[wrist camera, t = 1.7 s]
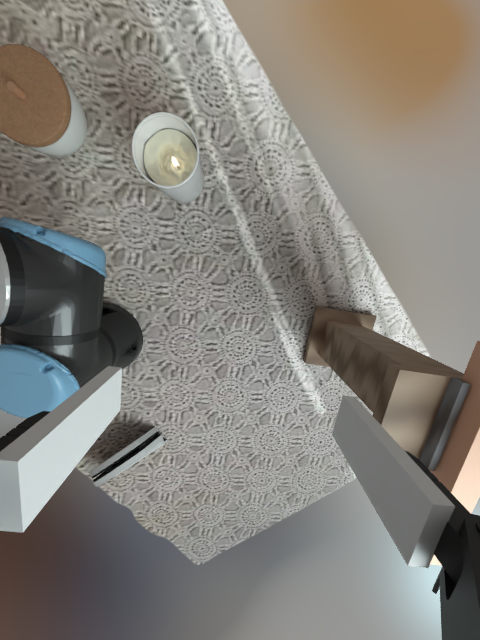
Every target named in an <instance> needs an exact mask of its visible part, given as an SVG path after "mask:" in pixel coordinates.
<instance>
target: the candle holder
mask: <svg viewBox="0 0 480 640" xmlns="http://www.w3.org/2000/svg"><path fill="white" fill-rule="evenodd" d="M132 156H133V160H134V163H135V165H136V167H137V169H138V171H139V172H140V174H141V175H142V176H143V177H144V178H145V179H146V180H147V181H148V182H150V183H151V184H153V185H154V186H156V187H157V188H158V189H159V190H161V191H162V192H163V193H165V194H166V195H167V196H169V197H170V198H171V199H173V200H175V201H177V202H181V203H187V202H191V201H193V200H195V199H196V198H197V197H198V196H199V195H200V193H201V192H202V189H203V186H204V174H203V168H202V163H201V158H200V153H199V145H198V141H197V138H196V136H195V134H194V132H193V130H192V129H191V127H190V126H189V125H188V124H187V123H186V122H185V121H184V120H183V119H182V118H180V117H179V116H177V115H175V114H172V113H168V112H157V113H153V114H151V115H149V116H147V117H146V118H144V119H143V120H142V121H141V122H140V123H139V125H138V126H137V128H136V130H135V132H134V135H133V138H132Z"/></svg>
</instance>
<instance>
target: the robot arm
mask: <svg viewBox="0 0 480 640" xmlns="http://www.w3.org/2000/svg"><path fill="white" fill-rule="evenodd" d="M105 266H106V256H105V253H104V251H103V250H102V248H101V247H99V246H98V245H96V244H94V243H91V242H89V241H86V240H83V239H80V238H77V237H74V236H71V235H67V234H64V233H61V232H58V231H54V230H51V229H47V228H43V227H41V226H37V225H34V224H31V223H28V222H24V221H20V220H17V219H13V218H8V217H2V218H1V219H0V327H1V345H0V409H1V410H3V411H5V412H7V413H9V414H12V415H15V416H18V417H23V418H27V419H26V420H24V421H23V422H22V423H21V424H19V425H18V426H17V427H16V428H14V429H12V430H11V431H9V432H8V433H7V434H6V436H3V437H1V438H0V531H12V532H24V531H25V529H26V528H27V527H28V525H29V524H30V523H31V522H32V520H33V519H34V518H35V517H36V516H37V514H38V513H39V512H40V510H41V509H42V508H43V507H44V505H45V504H46V503H47V501H48V500H49V499H50V498H51V497H52V495H53V494H54V493H55V492H56V490H57V489H58V488H59V486H60V485H61V484H62V483H63V482H64V480H65V479H66V478H67V477H68V475H69V474H70V473H71V471H72V470H73V469H74V468H75V466H76V465H77V464H78V463H79V461H80V460H81V459H82V458H83V456H84V455H85V454H86V453H87V451H88V450H89V449H90V448H91V446H92V445H93V444H94V443H95V441H96V440H97V439H98V437H99V436H100V435H101V434H102V432H103V431H104V430H105V429H106V427H107V426H108V425H109V424H110V422H111V421H112V420H113V419H114V417H115V416H116V415H117V414H118V412H119V411H120V405H121V379H122V369H123V368H125V367H127V366H128V365H130V364H131V363H132V362H133V361H134V360H135V359H136V358H137V357H138V355H139V353H140V351H141V349H142V344H143V335H142V331H141V328H140V326H139V324H138V322H137V321H136V319H135V318H134V317H133V316H132V315H131V314H130V313H129V312H128V311H126V310H125V309H123V308H121V307H119V306H116V305H112V304H103V294H104V281H105V278H106V277H107V275H106V273H105ZM332 435H333V437H334V439H335V440H336V442H337V444H338V445H339V447H340V449H341V451H342V452H343V454H344V456H345V458H346V459H347V461H348V463H349V465H350V466H351V468H352V470H353V472H354V473H355V475H356V477H357V478H358V480H359V482H360V484H361V485H362V487H363V489H364V491H365V492H366V494H367V496H368V498H369V499H370V501H371V503H372V504H373V506H374V508H375V510H376V511H377V513H378V515H379V517H380V518H381V520H382V522H383V524H384V525H385V527H386V529H387V530H388V532H389V534H390V536H391V538H392V539H393V541H394V543H395V544H396V546H397V548H398V549H399V551H400V553H401V555H402V556H403V558H404V560H405V562H406V563H407V565H408V566H416V567H426V568H428V567H429V565H430V563H431V560H432V558H433V556H434V555H435V556H436V558H437V559H438V561H439V562H440V563H441V565H442V566H443V567H442V569H441V571H440V573H439V575H438V578H437V580H436V582H435V584H434V587H433V590H432V591H433V592H434V593H435V594H436V593H437V591H438V589H440V601H441V624H442V625H441V626H442V640H480V516H478V515H474V514H471V513H470V512H469V511H468V510H467V509H466V508H465V507H464V506H463V505H462V504H461V503H460V502H459V501H458V500H457V499H456V498H455V496H454V495H453V494H452V493H451V492H450V491H449V490H448V489H447V488H446V487H445V486H444V485H443V484H442V483H441V482H439V480H438V479H437V478H436V476H435V475H434V474H433V473H431V472H430V470H429V469H428V468H427V467H426V466H425V465H424V464H423V463H422V462H421V461H420V460H419V459H417V458H416V457H415V456H413V455H412V454H411V453H409V452H408V451H404V450H403V449H402V448H401V447H400V445H399V444H398V443H397V442H396V441H395V440H394V439H393V438H392V437H391V436H390V435H389V433H388V432H387V431H386V430H385V429H384V428H383V427H382V426H381V425H380V424H379V423H378V421H377V420H376V419H375V418H374V417H373V416H372V415H371V414H370V413H369V412H368V411H367V409H366V408H365V407H364V406H363V405H362V404H361V403H360V402H359V401H358V400H357V399H356V397H351V396H343V397H342V401H341V404H340V408H339V412H338V415H337V419H336V423H335V426H334V430H333V434H332Z"/></svg>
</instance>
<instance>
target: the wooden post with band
mask: <svg viewBox="0 0 480 640" xmlns="http://www.w3.org/2000/svg"><path fill="white" fill-rule="evenodd" d="M375 320H376V316H374V315H369V314H363V313H357V312H350V311H344V310H338V309H331V308H325V307H319V306H316V309H315V313H314V317H313V321H312V326H311V330H310V334H309V338H308V343H307V347H306V351H305V355H304V360H303V361H304V362H305V363H308V364H315V365H322V366H329V367H331V368H332V369H333V370H334V371H335V373H336V374H337V375H338V376H339V377H340V378H341V379H342V380H343V381H344V382H345V383H346V384H347V385H348V386H349V387H350V389H351V390H352V391H353V392H354V393H355V394H356V395H357V396H358V397H359V398H360V399H361V400H362V401H363V402H364V403H365V405H366V406H367V407H368V408H369V409H370V410H371V411H372V412H373V417H374V418H375V419H376V420H377V421H378V423H379V424H380V425H381V426H382V427H383V428H384V429H385V430H386V431H387V432H388V433H389V435H390V436H391V437H392V438H393V439H394V440H395V441H396V442H397V443H398V444H399V445H400V447H401V448H402V449H403V450H404V451H408V452H409V453H411V454H412V455H413V456H415V457H416V458H417V459H419V460H420V461H421V462H422V463H423V464H424V465H425V466H426V467H427V468H428V469H429V470H431V471H435V470H436V467H437V465H438V462H439V460H440V457H441V455H442V453H443V450H444V448H445V445H446V443H447V441H448V438H449V436H450V433H451V431H452V428H453V426H454V424H455V421H456V419H457V416H458V414H459V412H460V409H461V407H462V404H463V402H464V400H465V397H466V395H467V392H468V390H469V387H470V385H471V384H469V383H467V382H465V381H463V380H462V378H463V375H464V374H463V373H461V372H459V371H457V370H454V369H453V368H450V367H448V366H446V365H444V364H442V363H440V362H438V361H436V360H434V359H432V358H429V357H427V356H425V355H423V354H421V353H419V352H417V351H415V350H413V349H410V348H408V347H406V346H404V345H402V344H400V343H398V342H396V341H393V340H391V339H389V338H387V337H385V336H383V335H381V334H379V333H377V332H374V331H372V330H373V326H374V323H375Z"/></svg>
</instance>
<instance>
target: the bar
mask: <svg viewBox="0 0 480 640" xmlns="http://www.w3.org/2000/svg"><path fill="white" fill-rule="evenodd" d="M462 380H463V381H465V382H467V383H469V384H471V385H470V387H469V390H468V392H467V395H466V397H465V400H464V402H463V404H462V407H461V409H460V412H459V414H458V416H457V419H456V421H455V424H454V426H453V428H452V431H451V433H450V436H449V438H448V441H447V443H446V445H445V448H444V450H443V453H442V455H441V457H440V460H439V462H438V465H437V467H436V470H435V471H431V470H430V472H431V473H433V474H434V475H435V476H436V478H437V479H438V480H439V482H441V483H442V484H443V485H444V486H445V487H446V488H447V489H448V490H449V491H450V492H451V493H452V494H453V495H454V496H455V498H456V499H457V500H458V501H459V502H460V503H461V504H462V505H463V506H464V507H465V508H466V509H467V510H468V511H469V512H470V513H472V511H473V509H474V507H475V505H476V503H477V501H478V499H479V497H480V341H477V343H476V346H475V348H474V351H473V353H472V355H471V358H470V361H469V363H468V365H467V368H466V370H465V373H464V375H463V378H462ZM430 564H432V565H441V563H440V562H439V561H438V559H437V558H436V556H435V555H434V556H433V558H432V560H431V563H430Z"/></svg>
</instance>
